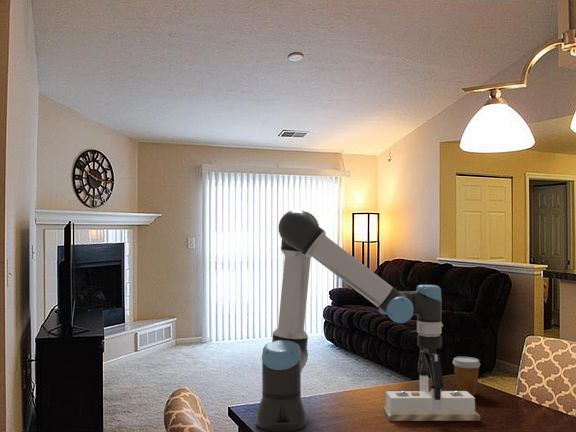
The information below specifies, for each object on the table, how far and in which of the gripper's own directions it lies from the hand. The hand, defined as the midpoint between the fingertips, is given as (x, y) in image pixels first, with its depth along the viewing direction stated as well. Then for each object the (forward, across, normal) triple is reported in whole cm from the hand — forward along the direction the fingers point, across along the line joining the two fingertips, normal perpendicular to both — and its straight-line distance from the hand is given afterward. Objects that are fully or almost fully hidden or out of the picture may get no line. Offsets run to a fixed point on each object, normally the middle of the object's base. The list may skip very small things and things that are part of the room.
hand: (430, 402), depth 160 cm
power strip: (+2, 0, 0) cm, 3 cm away
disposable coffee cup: (+4, +23, -20) cm, 31 cm away
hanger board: (+4, 0, 0) cm, 4 cm away
